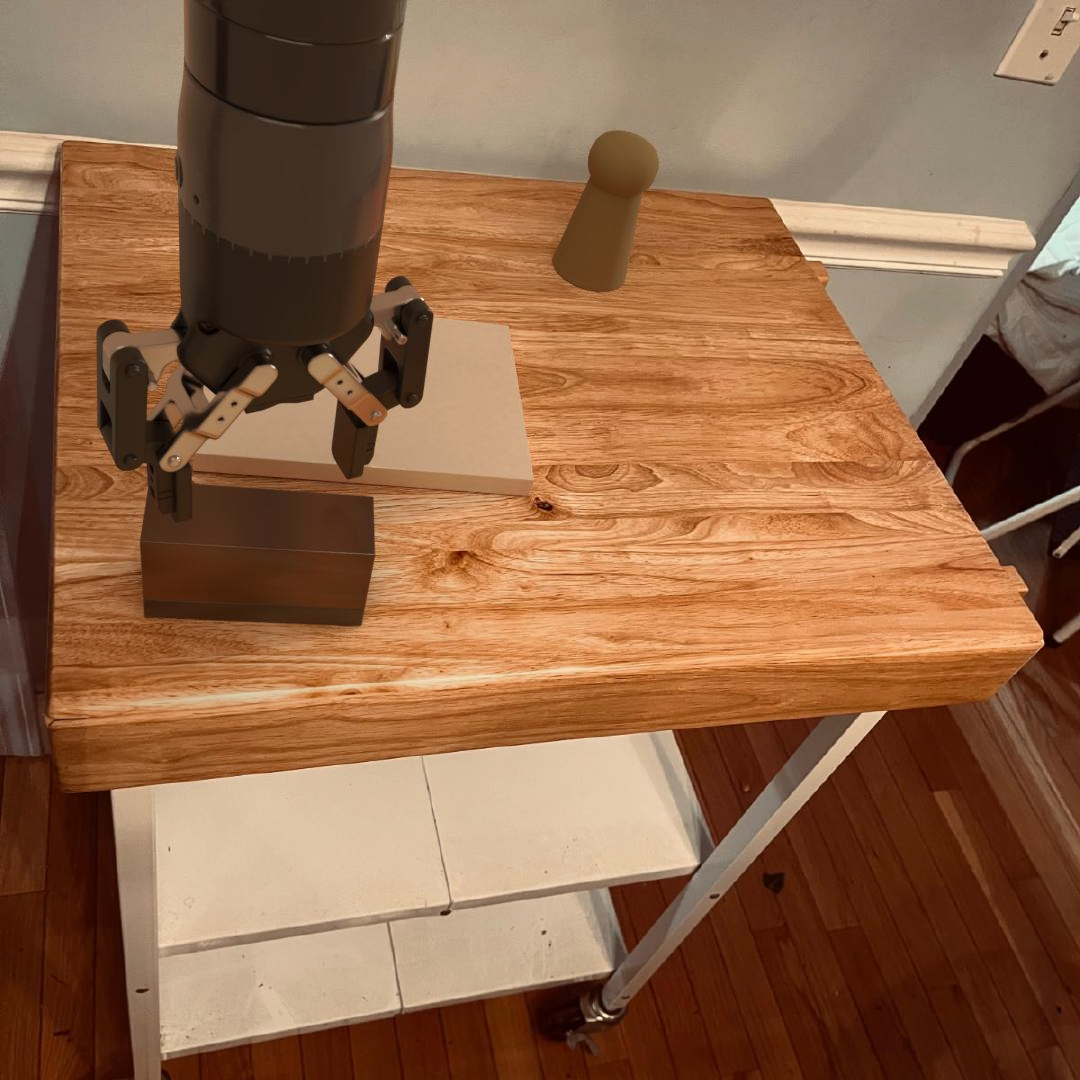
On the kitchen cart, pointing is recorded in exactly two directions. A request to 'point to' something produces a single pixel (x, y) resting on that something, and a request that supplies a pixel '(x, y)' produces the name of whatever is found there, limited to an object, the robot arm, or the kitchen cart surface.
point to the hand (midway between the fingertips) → (265, 486)
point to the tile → (402, 424)
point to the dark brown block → (260, 557)
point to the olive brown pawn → (607, 212)
